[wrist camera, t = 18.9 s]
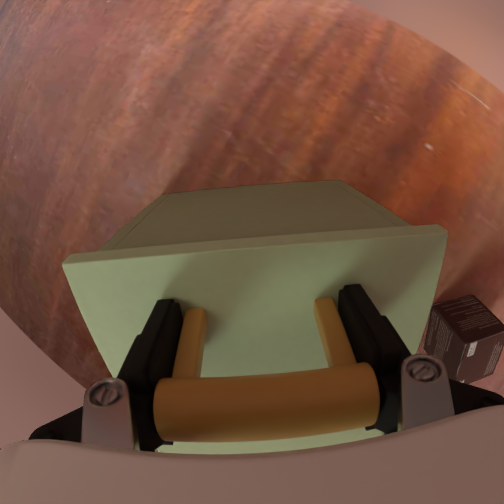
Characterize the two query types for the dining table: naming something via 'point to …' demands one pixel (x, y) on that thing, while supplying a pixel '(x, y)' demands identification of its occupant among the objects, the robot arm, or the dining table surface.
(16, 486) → the robot arm
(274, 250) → the lid
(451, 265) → the dining table surface
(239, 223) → the chest
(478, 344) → the box
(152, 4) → the dining table surface
